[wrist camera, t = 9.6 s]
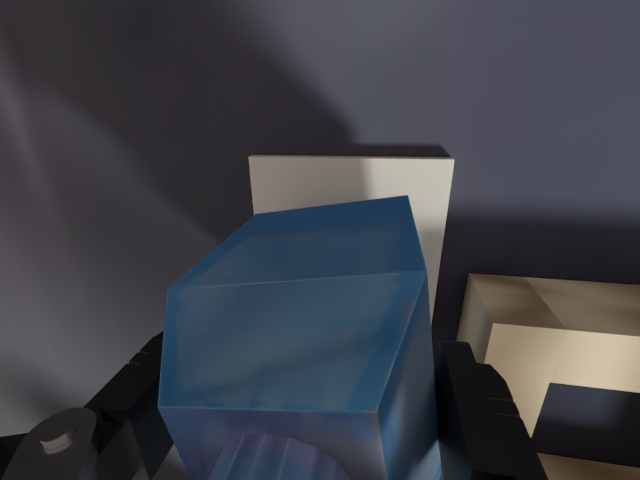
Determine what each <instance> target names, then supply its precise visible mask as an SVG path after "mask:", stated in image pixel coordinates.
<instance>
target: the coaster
mask: <svg viewBox="0 0 640 480" xmlns="http://www.w3.org/2000/svg"><path fill="white" fill-rule="evenodd" d="M248 158H249V168H250V179H251V190H252V200H253V211H254V215H255V214H258V213H267V212H275V211H283V210H291V209H299V208H307V207H315V206H323V205H331V204H339V203H347V202H355V201H363V200H371V199H379V198H387V197H396V196H404V195H408V197H409V201H410V205H411V209H412V213H413V217H414V221H415V225H416V229H417V233H418V237H419V241H420V245H421V249H422V253H423V257H424V261H425V265H426V269H427V277H428V291H429V305H430V320H431V324H432V317H433V310H434V303H435V296H436V288H437V281H438V274H439V267H440V260H441V253H442V246H443V239H444V231H445V224H446V217H447V210H448V203H449V196H450V189H451V182H452V174H453V167H454V160H455V159H453V158H452V157H385V156H308V155H251V156H249V157H248Z"/></svg>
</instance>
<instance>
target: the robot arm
mask: <svg viewBox="0 0 640 480" xmlns="http://www.w3.org/2000/svg"><path fill="white" fill-rule="evenodd" d="M163 334H164V331H163V332H161V333H159V334H158V335H156V336H155V337H153V338H152V339H151V340H150V341H149V342H148V343H147V344H146V345H145V346H144V347H143V348H142V349H141V350H140V352H139V353H137V354H136V355H135V356H134V357H133V358H132V359H131V360H130V361H129V364H126V365H125V366H124V367H123V368H122V369H121V370H120V371H119V372H118V373H117V374H116V375H115V376H114V377H113V378H112V379H111V380H110V381H109V382H108V383H107V384H106V385H105V386H104V387H103V388H102V389H101V390H100V391H99V392H98V393H97V394H96V395H95V396H94V397H93V398H92V399H91V400H90V401H89V402H88V403H87V404H86V405H85V406H84V407H83V408H82V407H79V408H71V409H67V410H64V411H61V412H59V413H56V414H54V415H52V416H50V417H49V418H47V419H45V420H44V421H42V422H41V423H39V424H38V425H37V426H35V427H34V428H33V429H32V430H31V431H30V432H29V433H25V434H18V435H11V436H4V437H0V480H132V479H137V480H152V478H153V476H154V475H155V473H156V472H157V470H158V468H159V467H160V465H161V463H162V462H163V460H164V459H165V457H166V455H167V454H168V452H169V451H170V449H171V447H172V446H173V444H174V442H173V440H172V437H171V435H170V433H169V431H168V429H167V427H166V424H165V422H164V420H163V418H162V416H161V414H160V411H159V409H158V396H159V384H160V371H161V359H162V346H163ZM434 378H435V392H436V407H437V421H438V444H439V451H440V457H441V463H442V470H443V476H444V480H549V479H548V477H547V475H546V472H545V470H544V468H543V466H542V463H541V461H540V459H539V456H538V454H537V452H536V449H535V447H534V445H533V443H532V440H531V438H530V436H529V433H528V431H527V429H526V427H525V424H524V422H523V420H522V418H520V413H519V410H518V408H517V406H516V404H515V402H513V397H512V394H511V392H510V390H509V387H508V385H507V383H506V381H505V379H504V378H503V377H502V376H501V375H500V374H499V373H498V372H497V371H496V370H495V369H494V368H493V367H492V366H491V364H484V363H476V360H475V357H474V354H473V352H472V349H471V346H470V344H469V343H468V342H462V341H453V340H443V339H440V340H439V341H438V346H437V352H436V359H435V365H434Z"/></svg>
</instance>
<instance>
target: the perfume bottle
mask: <svg viewBox="0 0 640 480" xmlns="http://www.w3.org/2000/svg"><path fill="white" fill-rule="evenodd" d="M158 409H159V411H160V414H161V416H162V418H163V420H164V422H165V424H166V427H167V429H168V431H169V433H170V435H171V437H172V440H173V442H174V444H175V446H176V448H177V450H178V453H179V455H180V457H181V459H182V461H183V463H184V465H185V468H186V470H187V472H188V474H189V476H190V478H191V480H439V478H440V476H441V464H440V451H439V444H438V421H437V407H436V392H435V378H434V363H433V349H432V334H431V320H430V305H429V291H428V277H427V269H426V265H425V261H424V257H423V253H422V249H421V245H420V241H419V237H418V233H417V229H416V225H415V221H414V217H413V213H412V209H411V205H410V201H409V197H408V195H404V196H396V197H387V198H379V199H371V200H363V201H355V202H347V203H339V204H331V205H323V206H315V207H307V208H299V209H291V210H283V211H275V212H267V213H258V214H255V215H254V216H253V217H252V218H250V219H249V220H248V221H247V222H246V223H245V224H243V225H242V226H241V227H240V228H239V229H237V230H236V231H235V232H234V233H233V234H232V235H230V236H229V237H228V238H227V239H226V240H225V241H223V242H222V243H221V244H220V245H219V246H218V247H216V248H215V249H214V250H213V251H212V252H210V253H209V254H208V255H207V256H206V257H205V258H203V259H202V260H201V261H200V262H199V263H198V264H196V265H195V266H194V267H193V268H192V269H191V270H189V271H188V272H187V273H186V274H185V275H184V276H182V277H181V278H180V279H179V280H178V281H176V282H175V283H174V284H173V285H172V286H171V287H169V288H168V289H167V296H166V309H165V321H164V334H163V346H162V359H161V371H160V384H159V396H158Z"/></svg>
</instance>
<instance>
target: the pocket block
mask: <svg viewBox="0 0 640 480" xmlns="http://www.w3.org/2000/svg"><path fill="white" fill-rule="evenodd" d="M456 341H462V342H468V343H469V344H470V346H471V349H472V352H473V354H474V357H475V360H476V363H484V364H491V366H492V367H493V368H494V369H495V370H496V371H497V372H498V373H499V374H500V375H501V376H502V377H503V378H504V379H505V381H506V383H507V385H508V387H509V390H510V392H511V394H512V397H513V402H515V404H516V406H517V408H518V410H519V413H520V418H522V420H523V422H524V424H525V427H526V429H527V431H528V433H529V436H530V438H531V437H532V434H533V431H534V428H535V425H536V422H537V419H538V416H539V413H540V410H541V407H542V404H543V401H544V398H545V395H546V392H547V389H548V386H549V383H550V382H552V383H560V384H569V385H577V386H586V387H594V388H603V389H611V390H620V391H628V392H637V393H640V285H632V284H618V283H603V282H589V281H574V280H560V279H545V278H531V277H516V276H502V275H487V274H473V273H468V279H467V285H466V290H465V296H464V301H463V307H462V312H461V318H460V324H459V329H458V335H457V340H456ZM537 454H538V456H539V459H540V461H541V463H542V466H543V468H544V470H545V472H546V475H547V477H548V479H549V480H640V468H636V467H630V466H623V465H616V464H610V463H603V462H596V461H590V460H583V459H577V458H570V457H563V456H557V455H550V454H543V453H537ZM440 464H441V476H440V478H439V480H444V476H443V470H442V463H441V457H440Z"/></svg>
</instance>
